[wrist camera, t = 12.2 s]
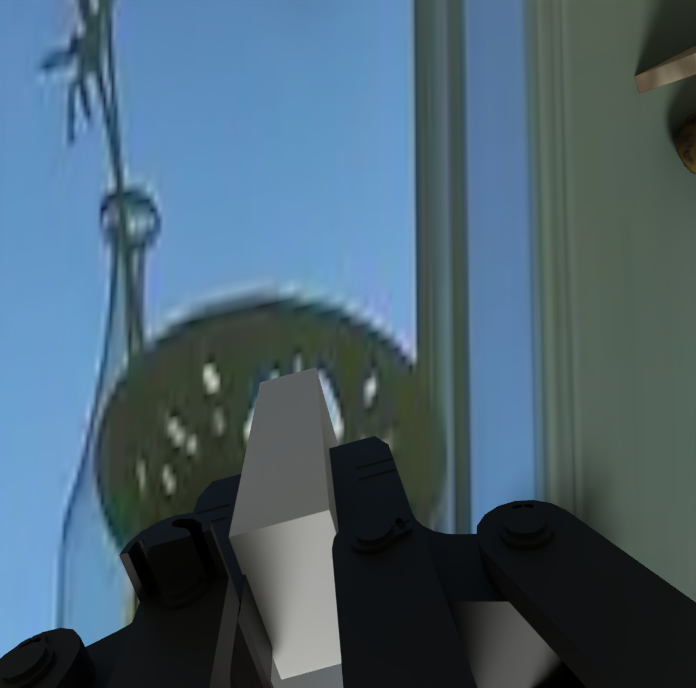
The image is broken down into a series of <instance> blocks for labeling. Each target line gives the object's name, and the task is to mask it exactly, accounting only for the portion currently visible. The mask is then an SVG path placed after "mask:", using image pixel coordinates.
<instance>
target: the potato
mask: <svg viewBox="0 0 696 688" xmlns="http://www.w3.org/2000/svg"><path fill="white" fill-rule="evenodd" d="M675 145H676V150H677V153H678V155H679V157H680V159H681V161H682V162H683V164H684V166H685V167H687V169H689V170H690V172H692V173H693V174H696V112H695V113H693V114H692V115H690V116H689V117H687V119H686V120H685V121H684V122H683V124H682V125H681V127H680V128H679V130H678V132H677V134H676V137H675Z"/></svg>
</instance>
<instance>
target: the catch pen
mask: <svg viewBox="0 0 696 688" xmlns="http://www.w3.org/2000/svg"><path fill="white" fill-rule="evenodd" d="M695 74H696V45H695V46H693V47H691V48H689V49H688V50H686V51H684V52H682V53H680V54H678V55H676V56H674V57H672V58H670V59H668V60H666V61H664V62H662V63H660V64H658V65H656V66H654V67H652V68H650V69H649V70H647V71H645V72H643V73H641V74H639V75H637V76H635V79H636V82H637V86H638V89H639V92H640V93H642V92H645V91H648V90H651V89H654V88H657V87H660V86H663V85H666V84H669V83H672V82H675V81H678V80H680V79H683V78H686V77H689V76H692V75H695Z"/></svg>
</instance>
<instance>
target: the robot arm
mask: <svg viewBox="0 0 696 688" xmlns="http://www.w3.org/2000/svg"><path fill="white" fill-rule="evenodd" d="M119 556H120V558H121V560H122V562H123V565H124V567H125V569H126V571H127V574H128V576H129V578H130V580H131V583H132V585H133V587H134V589H135V592H136V594H137V596H138V598H139V601H140V603H139V606H138V609H137V611H136V614H135V616H134V619H133V621H132V623H131V624H129V625H128V626H126V627H124V628H122V629H121V630H119V631H117V632H115V633H113V634H111V635H109V636H107V637H105V638H103V639H101V640H99V641H97V642H95V643H93V644H91V645H89V646H87V647H85V646H84V644H83V642H82V640H81V638H80V636H79V635H78V634H77V633H76V632H75V631H74V630H73V629H65V628H58V629H54V630H50V631H46V632H42V633H40V634H38V635H35V636H33V637H32V638H29V639H27V640H25V641H23V642H21V643H20V644H19V645H18V646H16V647H15V648H14V649H12V650H11V651H9V652H8V653H7V654H5V655H4V656H3V657H2V658H1V659H0V688H273V685H272V682H271V668H272V656H273V658H274V661H275V664H276V666H277V669H278V672H279V675H280V677H281V679H285V678H289V677H293V676H296V675H300V674H304V673H307V672H311V671H314V670H318V669H322V668H325V667H329V666H333V665H336V664H340V663H341V664H342V675H343V687H344V688H696V602H694V601H693V600H691V599H690V598H689V597H687V596H686V595H684V594H683V593H682V592H680V591H679V590H677V589H676V588H675V587H673V586H672V585H670V584H669V583H668V582H666V581H665V580H663V579H662V578H661V577H659V576H658V575H656V574H655V573H654V572H652V571H651V570H649V569H648V568H647V567H645V566H644V565H642V564H641V563H640V562H638V561H637V560H635V559H634V558H633V557H631V556H630V555H628V554H627V553H626V552H624V551H623V550H621V549H620V548H619V547H617V546H616V545H614V544H613V543H611V542H610V541H609V540H607V539H606V538H604V537H603V536H602V535H600V534H599V533H597V532H596V531H595V530H593V529H592V528H590V527H589V526H588V525H586V524H585V523H583V522H582V521H581V520H579V519H578V518H576V517H575V516H574V515H572V514H571V513H569V512H568V511H566V510H564V509H562V508H560V507H558V506H556V505H554V504H552V503H547V502H541V501H536V500H527V501H514V502H510V503H507V504H504V505H500V506H497V507H496V508H494V509H493V510H491V511H490V512H488V513H487V514H485V515H484V517H483V518H482V520H481V521H480V522H479V524H478V525H477V534H444V533H440V532H436V531H433V530H430V529H428V528H426V527H424V526H423V525H421V524H420V523H419V522H418V521H417V520H416V519H415V517H414V515H413V513H412V511H411V508H410V505H409V502H408V499H407V496H406V494H405V491H404V488H403V485H402V482H401V479H400V476H399V474H398V471H397V468H396V465H395V462H394V460H393V457H392V454H391V451H390V448H389V445H388V444H387V443H385V442H383V441H382V440H380V439H379V438H377V437H376V436H373V437H370V438H366V439H362V440H358V441H355V442H351V443H347V444H344V445H340V446H338V443H337V440H336V436H335V433H334V429H333V426H332V422H331V419H330V415H329V412H328V408H327V404H326V401H325V397H324V394H323V390H322V387H321V383H320V380H319V376H318V373H317V369H316V368H312V369H308V370H305V371H301V372H297V373H293V374H290V375H286V376H282V377H278V378H275V379H271V380H267V381H263V382H260V387H259V391H258V396H257V401H256V406H255V411H254V416H253V421H252V426H251V430H250V435H249V440H248V445H247V450H246V455H245V460H244V465H243V469H242V474H239V475H235V476H232V477H228V478H224V479H220V480H217V481H213V482H212V483H211V484H210V485H209V486H208V487H207V488H206V489H205V491H204V492H203V493H202V494H201V495H200V496H199V497H198V500H197V503H196V506H195V509H194V512H193V513H187V514H181V515H175V516H173V517H170V518H167V519H165V520H162V521H159V522H157V523H155V524H154V525H152V526H150V527H148V528H147V529H145V530H143V531H142V532H140V533H139V534H138V535H137V536H136V537H135V538H133V539H132V540H131V541H130V542H129V543H128V544H127V545H126V547H125V548H124V549H123V551H122V552H121V553H120V555H119Z"/></svg>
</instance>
